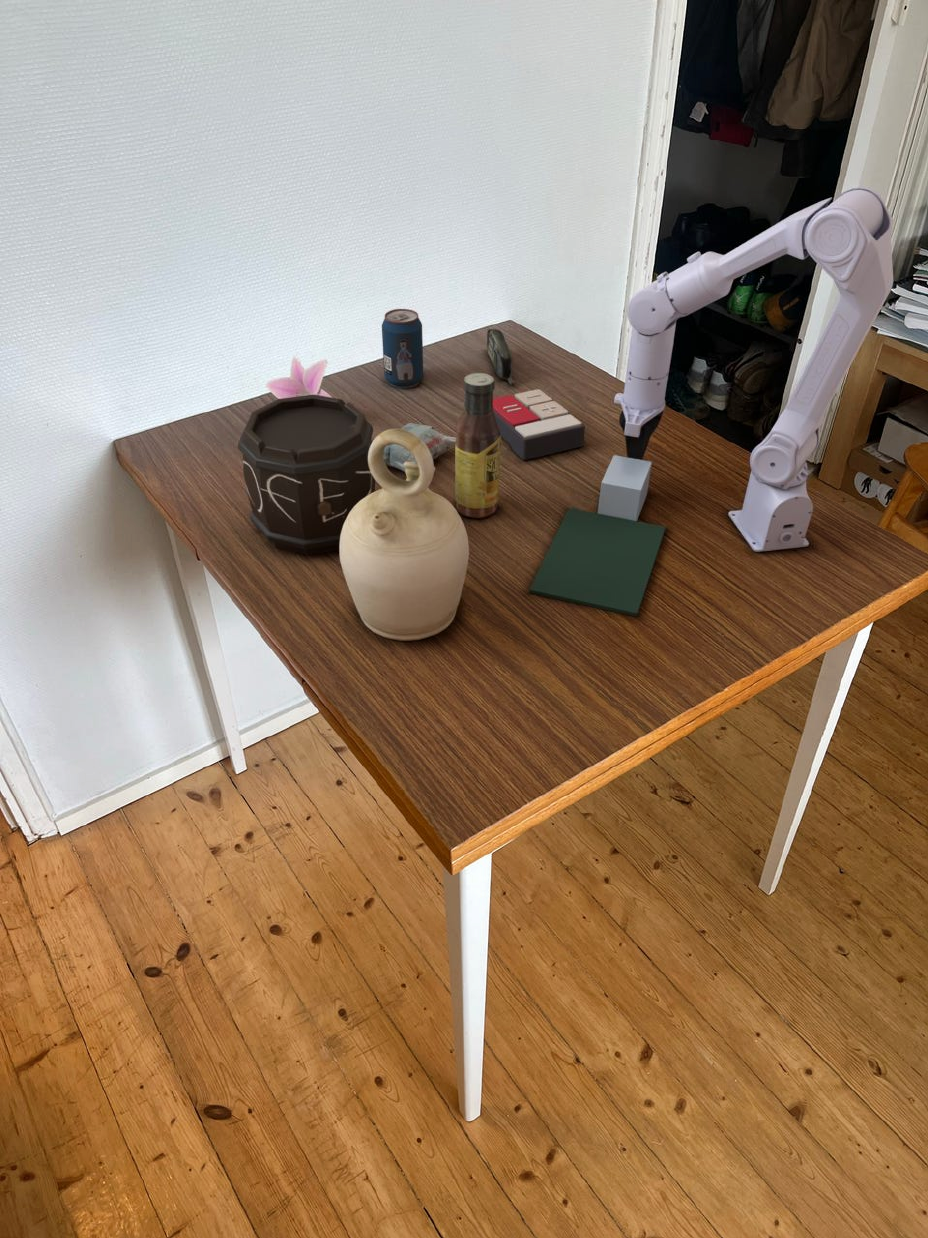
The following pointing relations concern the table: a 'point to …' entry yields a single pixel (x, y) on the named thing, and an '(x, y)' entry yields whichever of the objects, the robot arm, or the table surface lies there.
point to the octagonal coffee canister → (306, 470)
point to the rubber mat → (599, 561)
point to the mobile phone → (500, 354)
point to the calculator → (536, 424)
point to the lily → (300, 381)
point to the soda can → (402, 348)
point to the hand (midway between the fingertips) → (635, 457)
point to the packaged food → (427, 434)
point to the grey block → (624, 488)
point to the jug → (404, 548)
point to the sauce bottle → (477, 450)
